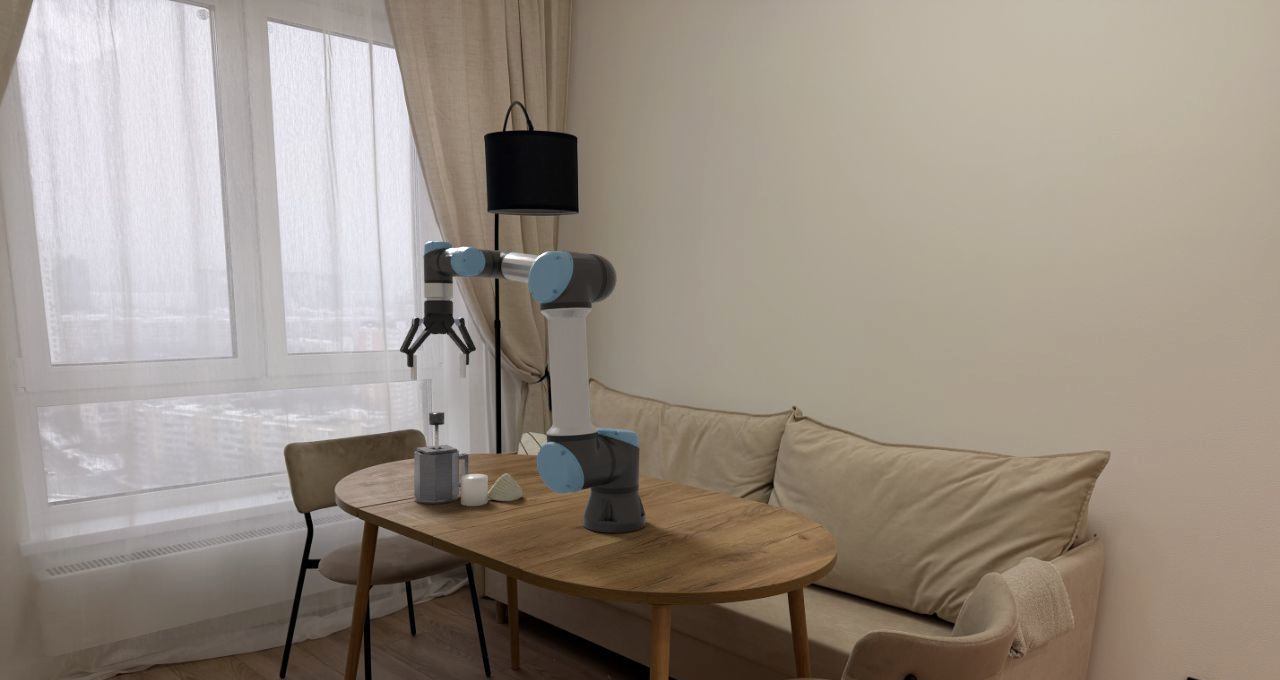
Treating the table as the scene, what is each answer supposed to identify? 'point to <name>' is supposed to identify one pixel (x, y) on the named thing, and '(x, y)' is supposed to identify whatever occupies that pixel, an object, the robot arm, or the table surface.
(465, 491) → the white pillar candle
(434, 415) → the plunger
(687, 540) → the table surface
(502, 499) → the seashell
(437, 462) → the press
